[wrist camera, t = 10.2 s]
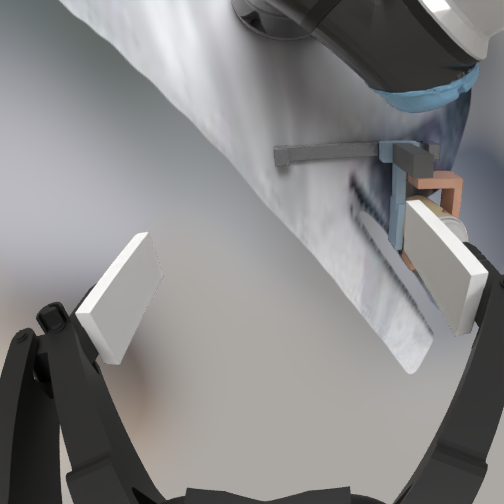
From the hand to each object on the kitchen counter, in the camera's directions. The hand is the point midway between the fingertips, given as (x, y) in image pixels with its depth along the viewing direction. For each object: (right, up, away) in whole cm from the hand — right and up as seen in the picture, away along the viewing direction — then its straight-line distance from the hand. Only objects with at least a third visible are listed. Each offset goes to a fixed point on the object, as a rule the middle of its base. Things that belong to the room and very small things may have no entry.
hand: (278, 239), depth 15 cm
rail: (+15, +15, +30) cm, 37 cm away
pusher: (+22, +9, +32) cm, 40 cm away
